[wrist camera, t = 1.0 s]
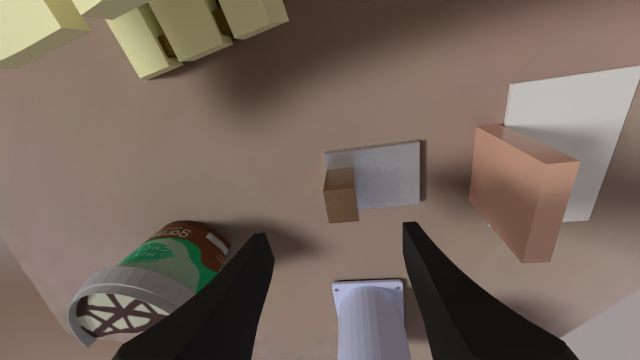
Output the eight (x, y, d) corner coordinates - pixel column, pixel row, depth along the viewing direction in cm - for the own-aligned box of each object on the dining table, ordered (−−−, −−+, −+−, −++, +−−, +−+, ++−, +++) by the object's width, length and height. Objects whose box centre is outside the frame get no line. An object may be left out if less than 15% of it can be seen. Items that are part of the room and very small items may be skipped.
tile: (488, 198, 23) (552, 261, 16) (468, 200, 24) (522, 263, 16) (499, 123, 20) (583, 160, 13) (476, 126, 21) (546, 164, 13)
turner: (334, 206, 26) (331, 238, 21) (325, 150, 23) (319, 173, 19) (416, 198, 24) (432, 231, 20) (416, 138, 22) (434, 160, 17)
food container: (213, 198, 26) (144, 272, 17) (242, 242, 28) (194, 328, 20) (125, 227, 29) (26, 303, 20) (157, 265, 31) (82, 349, 22)
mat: (585, 218, 23) (588, 220, 23) (487, 225, 24) (489, 227, 24) (639, 65, 18) (644, 65, 17) (509, 83, 19) (512, 84, 19)
